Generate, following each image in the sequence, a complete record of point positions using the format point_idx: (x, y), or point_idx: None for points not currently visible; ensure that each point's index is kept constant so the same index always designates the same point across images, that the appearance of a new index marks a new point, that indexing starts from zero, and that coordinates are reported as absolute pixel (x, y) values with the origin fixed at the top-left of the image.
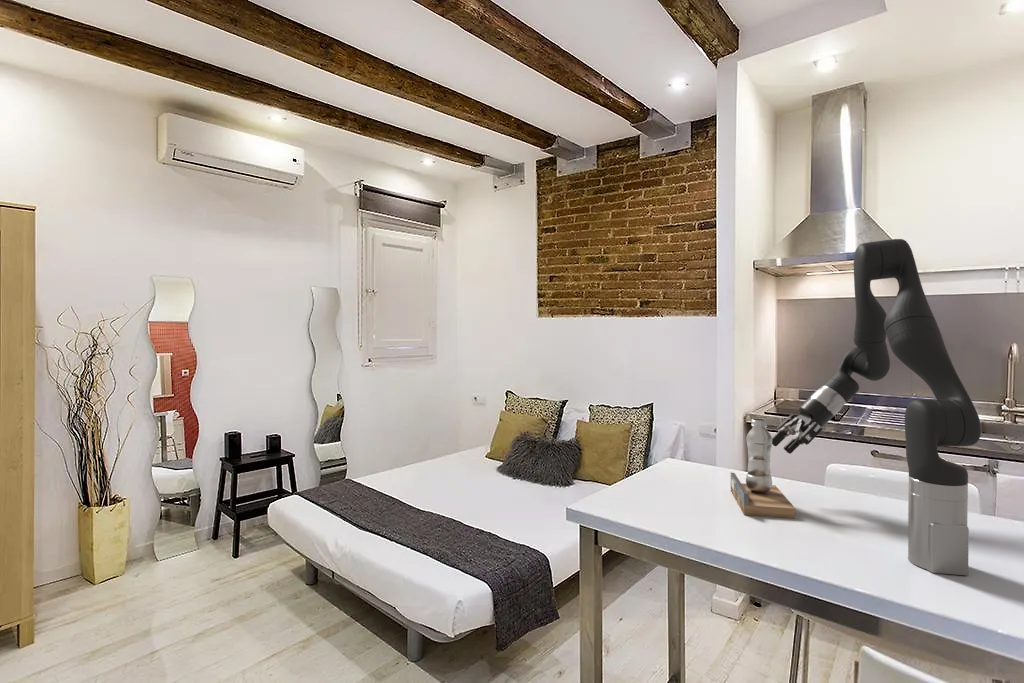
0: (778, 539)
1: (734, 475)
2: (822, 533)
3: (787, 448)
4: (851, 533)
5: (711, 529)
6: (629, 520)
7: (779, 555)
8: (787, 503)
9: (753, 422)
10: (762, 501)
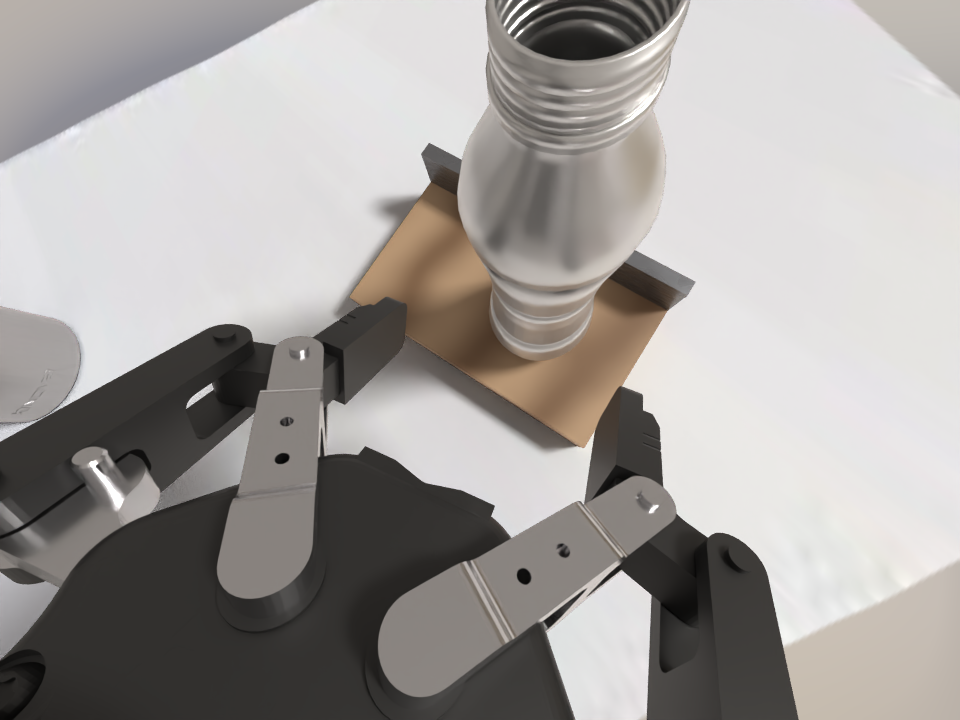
0: (283, 158)
1: (645, 265)
2: (258, 286)
3: (371, 304)
4: None
5: (396, 56)
6: None
7: (226, 102)
8: None
9: None
10: (442, 249)
